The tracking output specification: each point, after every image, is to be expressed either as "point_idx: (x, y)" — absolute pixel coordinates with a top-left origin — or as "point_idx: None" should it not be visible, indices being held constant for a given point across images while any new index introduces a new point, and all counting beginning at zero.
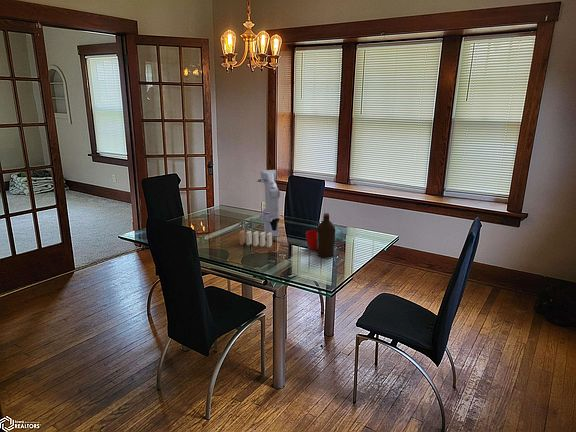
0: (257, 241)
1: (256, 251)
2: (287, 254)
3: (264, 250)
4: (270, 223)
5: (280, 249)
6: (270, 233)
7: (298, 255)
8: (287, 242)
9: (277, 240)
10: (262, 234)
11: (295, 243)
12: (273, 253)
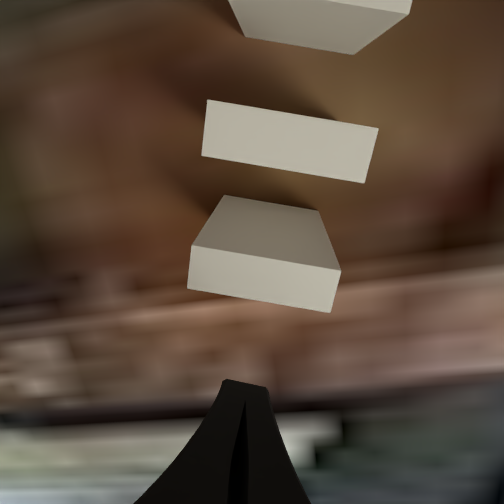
0: (318, 41)
1: (50, 98)
2: (64, 403)
3: (109, 187)
4: (137, 501)
5: (177, 338)
6: (276, 296)
7: (69, 475)
8: (403, 380)
9: (480, 276)
10: (213, 157)
11: (372, 445)
12: (50, 291)
